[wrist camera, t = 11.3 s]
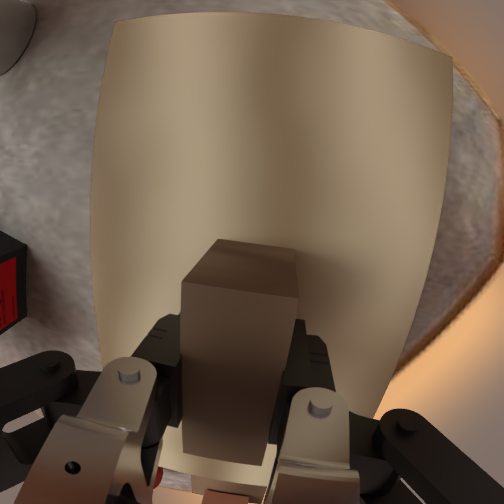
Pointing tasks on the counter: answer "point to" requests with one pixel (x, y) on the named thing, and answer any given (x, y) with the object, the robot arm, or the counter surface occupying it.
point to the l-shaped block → (223, 498)
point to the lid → (263, 211)
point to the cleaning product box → (12, 281)
